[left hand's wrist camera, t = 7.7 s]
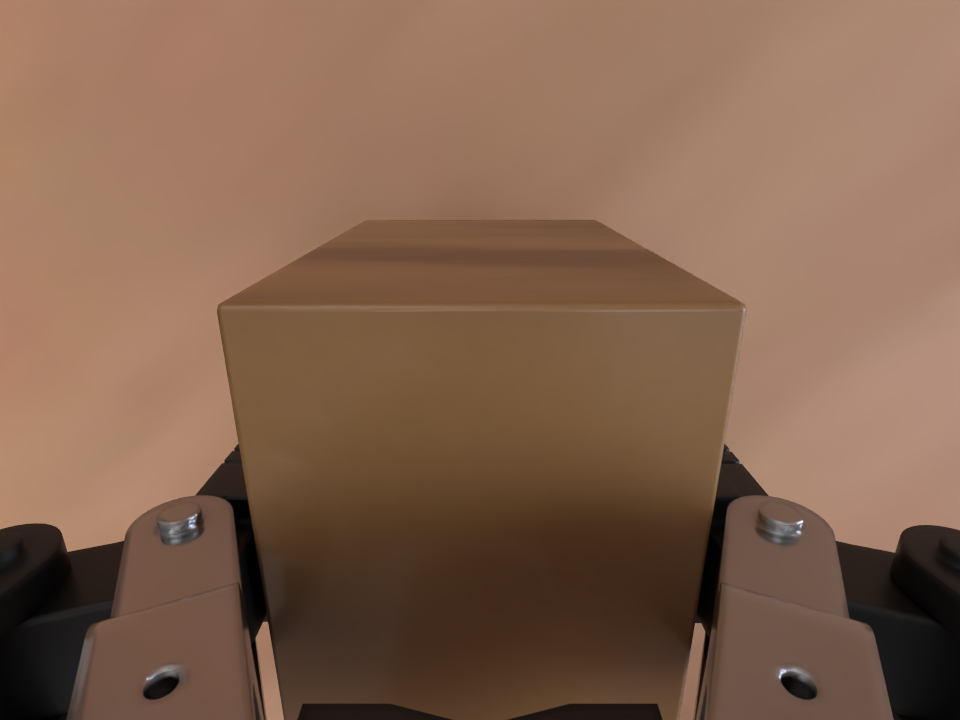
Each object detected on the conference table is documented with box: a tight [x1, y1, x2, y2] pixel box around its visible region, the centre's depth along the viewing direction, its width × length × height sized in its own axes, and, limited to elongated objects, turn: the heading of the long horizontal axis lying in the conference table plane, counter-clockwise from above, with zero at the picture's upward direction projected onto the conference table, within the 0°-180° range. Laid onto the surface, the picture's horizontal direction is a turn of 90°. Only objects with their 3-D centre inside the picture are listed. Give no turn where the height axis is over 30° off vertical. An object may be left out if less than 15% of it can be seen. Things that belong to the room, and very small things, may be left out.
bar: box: [217, 220, 746, 720], centre depth 14 cm, size 23×6×9 cm, turn 0°
